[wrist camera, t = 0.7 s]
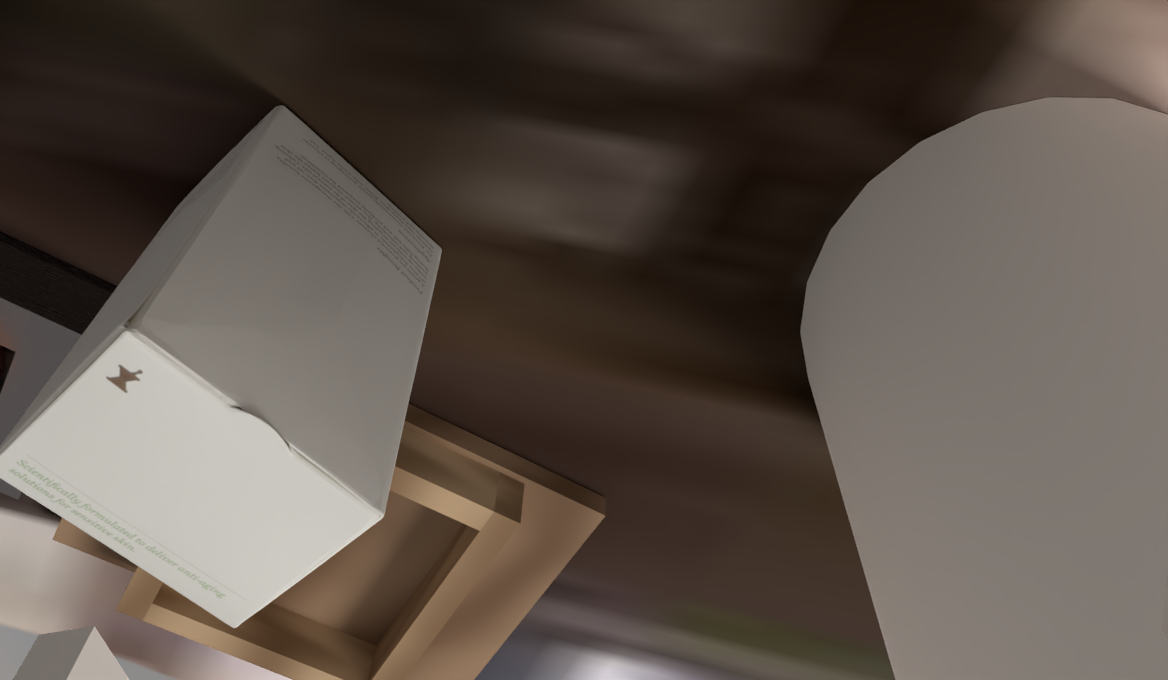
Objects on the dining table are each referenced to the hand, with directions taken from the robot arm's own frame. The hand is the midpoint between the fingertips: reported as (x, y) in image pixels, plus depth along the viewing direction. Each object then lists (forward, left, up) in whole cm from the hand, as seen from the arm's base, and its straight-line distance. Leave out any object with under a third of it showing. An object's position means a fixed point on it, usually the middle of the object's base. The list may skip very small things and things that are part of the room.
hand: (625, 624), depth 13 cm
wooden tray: (0, -25, -27) cm, 36 cm away
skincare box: (-6, -12, -27) cm, 30 cm away
